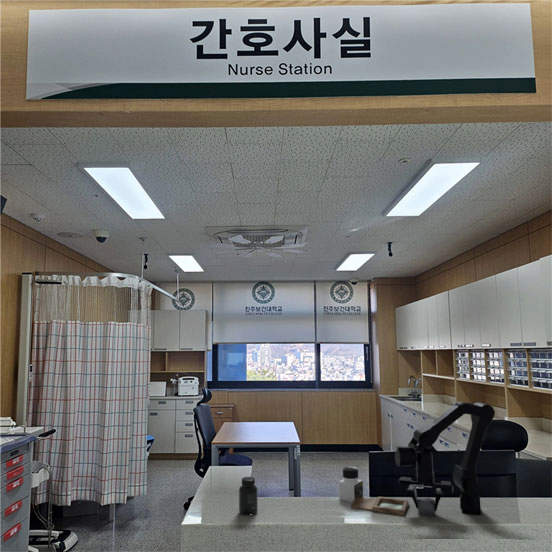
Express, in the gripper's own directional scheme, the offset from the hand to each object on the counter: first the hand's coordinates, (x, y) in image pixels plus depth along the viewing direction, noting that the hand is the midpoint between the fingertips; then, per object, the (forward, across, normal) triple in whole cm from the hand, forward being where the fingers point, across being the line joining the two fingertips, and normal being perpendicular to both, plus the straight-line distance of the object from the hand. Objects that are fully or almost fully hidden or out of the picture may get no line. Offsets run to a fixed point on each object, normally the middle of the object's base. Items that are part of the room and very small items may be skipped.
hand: (426, 509), depth 176 cm
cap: (+1, 0, 0) cm, 1 cm away
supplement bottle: (+1, +61, +22) cm, 65 cm away
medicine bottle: (+2, +29, -6) cm, 30 cm away
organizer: (+1, +17, -1) cm, 17 cm away
